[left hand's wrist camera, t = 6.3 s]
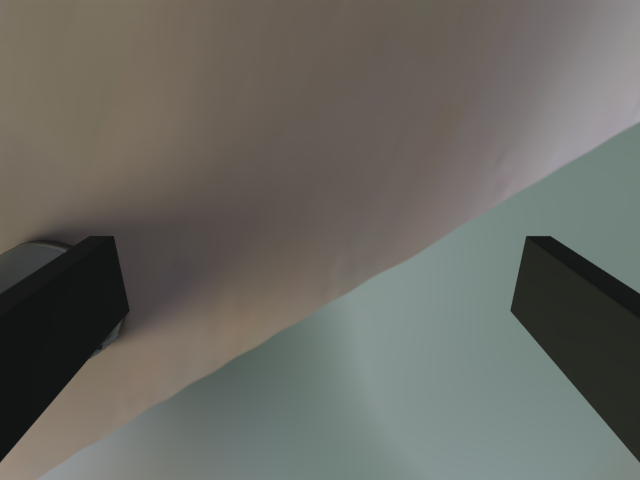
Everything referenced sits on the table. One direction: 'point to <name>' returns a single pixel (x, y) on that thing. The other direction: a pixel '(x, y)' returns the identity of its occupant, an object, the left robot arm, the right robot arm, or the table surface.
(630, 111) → the table surface
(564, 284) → the left robot arm
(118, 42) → the table surface
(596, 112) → the table surface
